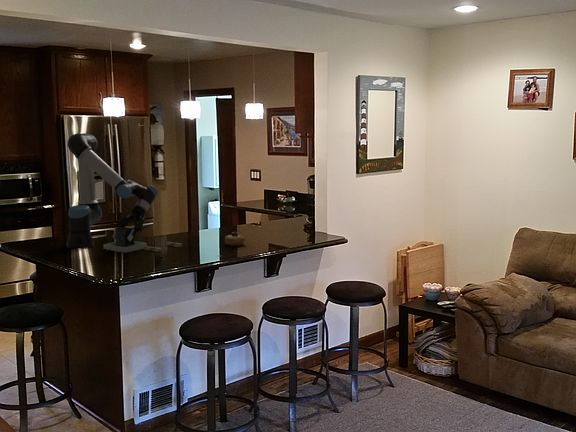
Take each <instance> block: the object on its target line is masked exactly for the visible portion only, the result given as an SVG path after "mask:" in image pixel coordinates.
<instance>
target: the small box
mask: <svg viewBox="0 0 576 432" xmlns="http://www.w3.org/2000/svg"><path fill="white" fill-rule="evenodd" d="M133 229H134V228H131V227H126V226H125V227H120V228H117V227H115V228H114V233H116V239H115V242H116V246H120V247H128V246H133V245H134V241H135V236H134V237H133V238H132V240H131V241H129V240H128V239H127V238H128V236H129V234H130V233H131V231H132V230H133Z"/></svg>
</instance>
